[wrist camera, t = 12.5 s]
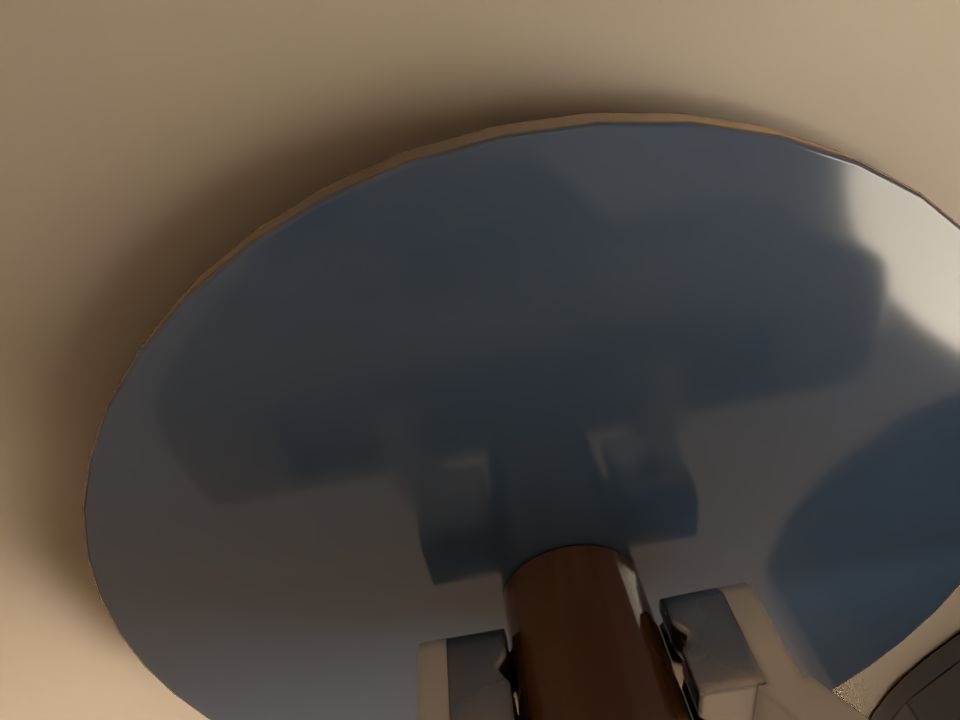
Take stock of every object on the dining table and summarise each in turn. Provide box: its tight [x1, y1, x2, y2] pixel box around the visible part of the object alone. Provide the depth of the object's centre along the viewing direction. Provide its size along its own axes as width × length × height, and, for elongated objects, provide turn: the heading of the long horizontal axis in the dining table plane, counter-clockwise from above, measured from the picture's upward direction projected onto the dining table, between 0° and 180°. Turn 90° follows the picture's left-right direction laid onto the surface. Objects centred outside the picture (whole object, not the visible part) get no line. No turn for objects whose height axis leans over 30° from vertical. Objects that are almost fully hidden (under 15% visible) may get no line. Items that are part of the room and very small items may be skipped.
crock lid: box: [83, 113, 960, 720], centre depth 10 cm, size 17×17×5 cm
